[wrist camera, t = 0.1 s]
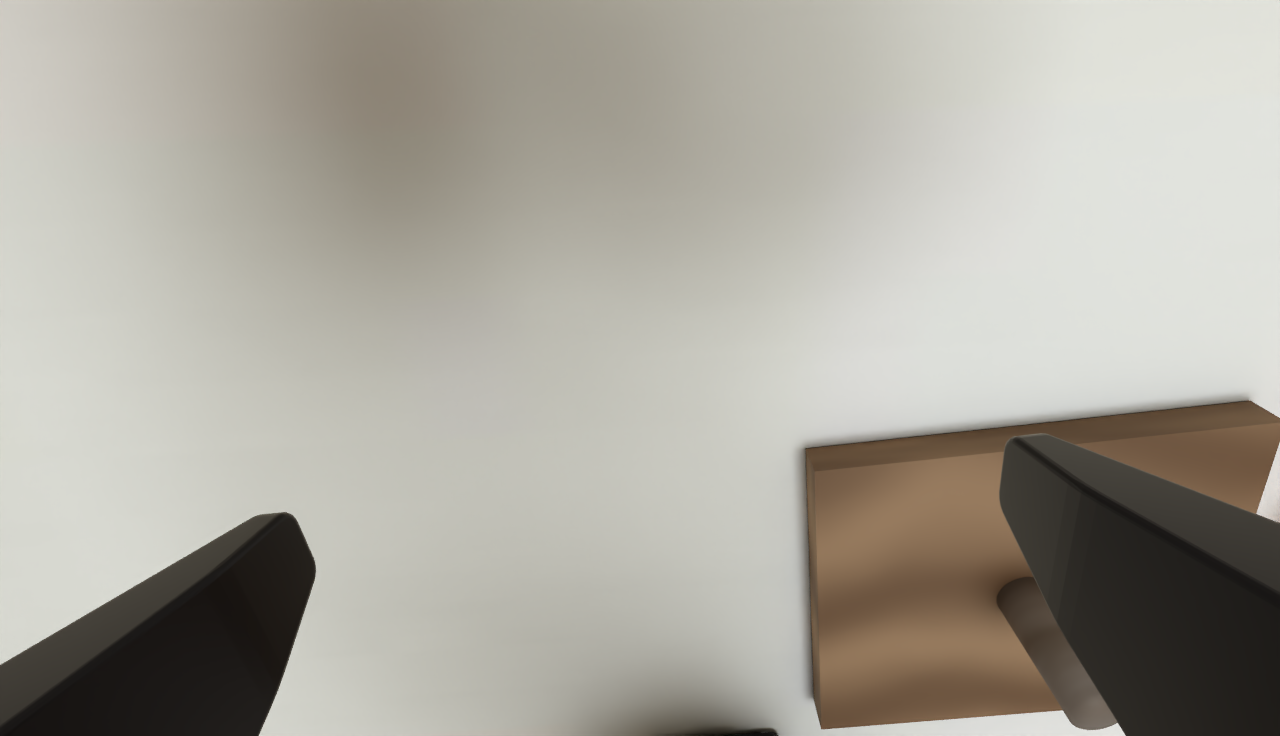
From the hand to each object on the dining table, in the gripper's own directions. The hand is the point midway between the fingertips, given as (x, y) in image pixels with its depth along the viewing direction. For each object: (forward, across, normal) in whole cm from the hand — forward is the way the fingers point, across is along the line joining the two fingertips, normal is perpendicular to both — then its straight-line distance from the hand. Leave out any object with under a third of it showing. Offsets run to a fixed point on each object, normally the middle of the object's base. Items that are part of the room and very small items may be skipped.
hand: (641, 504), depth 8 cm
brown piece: (+15, -13, +16) cm, 25 cm away
